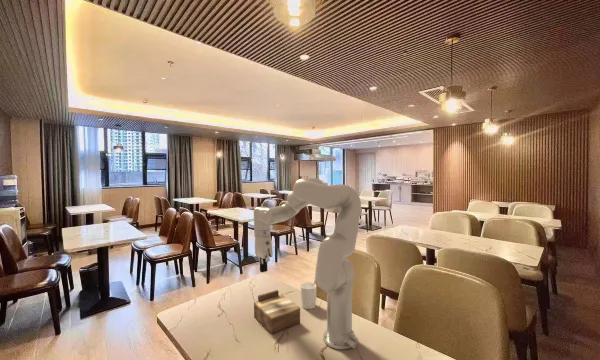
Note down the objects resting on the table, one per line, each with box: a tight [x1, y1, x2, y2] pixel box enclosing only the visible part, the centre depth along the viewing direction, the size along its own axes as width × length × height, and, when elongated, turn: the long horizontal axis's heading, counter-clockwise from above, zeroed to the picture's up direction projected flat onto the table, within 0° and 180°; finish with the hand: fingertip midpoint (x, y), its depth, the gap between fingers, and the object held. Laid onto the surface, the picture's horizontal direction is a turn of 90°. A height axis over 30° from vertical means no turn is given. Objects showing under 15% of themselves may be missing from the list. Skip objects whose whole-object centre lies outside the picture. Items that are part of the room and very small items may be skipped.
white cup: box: [299, 281, 318, 310], centre depth 131 cm, size 8×8×10 cm
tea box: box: [253, 303, 301, 336], centre depth 118 cm, size 16×14×6 cm
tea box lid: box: [253, 289, 301, 320], centre depth 118 cm, size 16×14×3 cm
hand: (263, 271), depth 128 cm, fingers closed
